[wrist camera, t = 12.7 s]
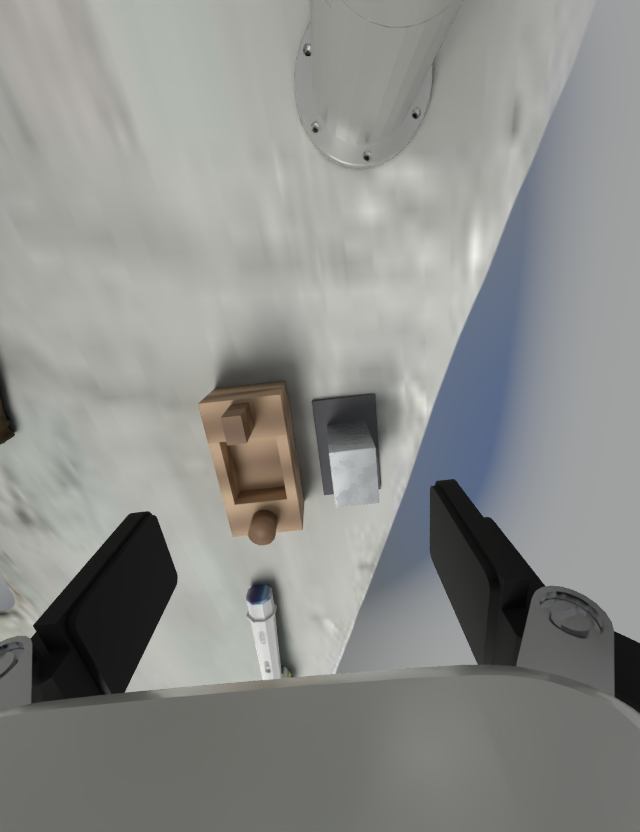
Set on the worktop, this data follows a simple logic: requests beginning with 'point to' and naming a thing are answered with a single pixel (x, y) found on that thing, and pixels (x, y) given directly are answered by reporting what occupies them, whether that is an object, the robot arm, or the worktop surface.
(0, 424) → the hand tool
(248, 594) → the electric toothbrush
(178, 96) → the worktop surface
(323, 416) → the rubber mat
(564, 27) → the worktop surface
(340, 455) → the silver block
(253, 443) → the body
